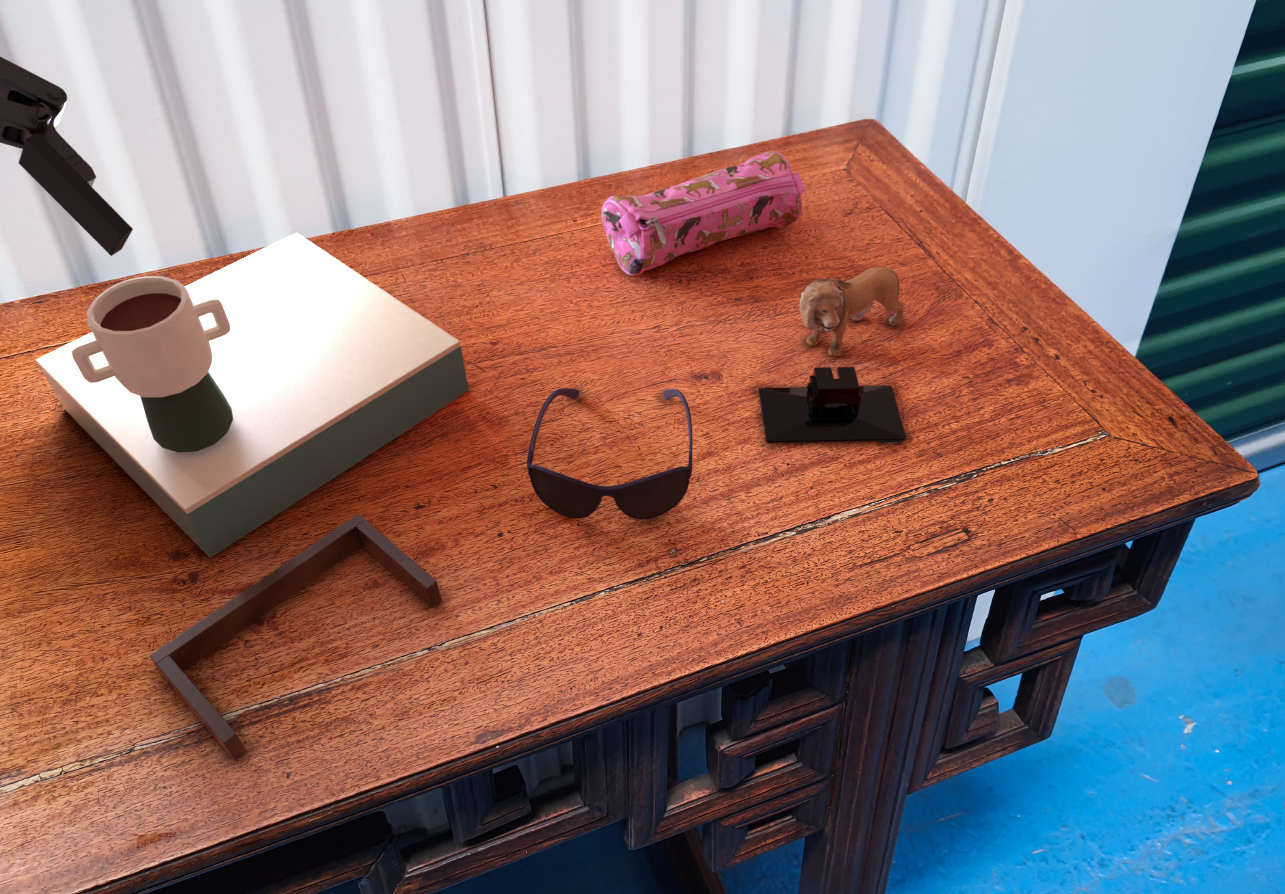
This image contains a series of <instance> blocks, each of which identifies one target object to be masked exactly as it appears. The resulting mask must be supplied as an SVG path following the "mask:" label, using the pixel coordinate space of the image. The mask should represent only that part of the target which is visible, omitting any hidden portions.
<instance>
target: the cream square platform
mask: <svg viewBox="0 0 1285 894" xmlns="http://www.w3.org/2000/svg"><path fill="white" fill-rule="evenodd" d="M185 287H186V288H187V290H188V292H189V294H190V296H191V299H192V301H193V304H194V305H195V304H198V303H201V302H203V301H206V300H209V299H218V300H219V301H220V302H221V303H222V305H223V307H224V310H225V312H226V315H227V317H228V320H229V322H230V332H229V333H228V334H226V335H224V336H222V337H219V338H216V339H214V340H211V341H209V342H210V345H211V351H212V364H211V366H210V369H209V373H210V375H211V376H212V378H213V379H214V381H215V382H216V384H217V385H218V387H219V388H220V390H221V391H222V393H223V394H224V396H225V398H226V400H227V401H228V403H229V405H230V406H231V408H232V414H233V421H232V423H231V426H230V428H229V430H228V432H227V433H226V434H225V435H224V436H223V437H222V438H221V439H220V440H219V441H218V442H217V443H216V444H214V445H212V446H210V447H207V448H205V449H202V450H200V451H197V452H180V453H178V452H175V451H171V450H168V449H164V448H162V447H161V446H160V445H159V444H158V443H157V442H156V441H155V440H154V439H153V436H152V433H151V430H150V428H149V425H148V422H147V418H146V415H145V411H144V408H143V404H142V401H141V397H140V396H139V395H136V394H133V393H130V392H129V391H128V390H127V389H126V388H125V387H124V386H123V385H122V384H121V383H120V382H119V381H118V380H117V379H116V377H115V376H113V377H111V378H108V379H105V380H102V381H100V382H96V383H90V382H88V381H87V380H86V379H84V377H83V375H82V374H81V372H80V370H79V368H78V366H77V364H76V363H75V361H74V359H73V357H72V350H73V349H74V348H76V347H77V346H79V345H81V344H84V343H87V342H90V341H93V340H96V339H95V337H94V335H93V333H92V331H90V332H89V333H88V334H85V335H83V336H82V337H80V338H77V339H75V340H73V341H71V342H69V343H67V344H65V345H62V346H60V347H59V348H56V349H55V350H53V351H50V352H48V353H46V354H44V355H42V356H40V357H38V358H36V359H35V362H36V364H37V366H38V368H39V370H41V373H42V374H43V375H44V378H45V379H46V381H47V382H48V384H49V386H50V388H51V390H52V391H53V392H54V395H55V396H56V398H57V399H58V401H59V403H60V405H61V406H62V408H63V410H64V411H65V412H66V413H67V414H68V415H69V416H70V417H71V418H72V419H73V420H74V421H75V422H76V424H78V425H79V426H80V427H81V428H82V429H83V430H84V431H85V433H87V434H88V435H89V436H90V437H91V438H92V439H93V440H94V441H95V442H96V444H97V445H98V446H99V447H101V448H102V450H103V451H104V452H106V454H107V455H108V456H109V457H110V458H111V459H112V460H113V461H114V462H115V463H116V464H117V465H118V466H119V467H120V468H121V469H123V471H124V472H125V473H126V474H127V475H128V476H129V477H130V478H131V479H132V480H133V481H134V483H136V484H137V486H139V487H140V488H141V489H142V491H143V492H144V493H146V495H148V497H150V498H151V499H152V501H153V502H154V503H155V504H156V505H157V506H158V507H159V508H160V509H161V510H162V511H163V512H164V513H165V514H166V515H167V516H168V517H169V518H170V519H171V520H172V521H173V522H174V523H175V524H176V525H177V526H178V527H179V528H180V529H181V530H182V531H183V533H185V535H187V537H189V539H190V540H191V541H193V542H194V544H196V546H197V547H198V548H199V549H200V550H201V551H202V552H203V553H204V554H205V555H206V556H207V557H208V558H209V559H212V558H213V557H214V556H216V555H218V554H219V553H221V552H222V551H224V550H226V549H227V548H229V547H230V546H231V545H233V544H234V543H236V542H238V541H240V539H243V538H244V537H245V536H246V535H249V534H250V533H252V532H254V530H257V529H258V528H259V527H260V526H262V525H264V524H265V523H267V522H268V521H270V520H272V519H273V518H275V517H276V516H277V515H279V514H281V513H282V512H284V511H285V510H287V509H288V508H291V506H293V505H295V504H296V503H298V502H299V501H301V500H302V499H304V498H306V497H307V496H309V495H310V494H312V493H314V492H315V491H317V490H318V489H319V488H321V487H323V486H324V485H325V484H327V483H329V482H330V481H332V480H333V479H335V478H336V477H338V476H339V475H341V474H343V473H344V472H345V471H347V470H349V469H351V468H352V467H353V466H355V465H356V464H358V463H360V462H361V461H363V460H364V459H366V458H367V457H369V456H370V455H372V454H373V453H375V452H376V451H378V450H380V449H381V448H383V447H384V446H386V445H387V444H389V443H390V442H392V441H393V440H396V438H398V437H400V436H401V435H403V434H405V433H406V432H407V431H409V430H410V429H412V428H413V427H415V426H416V425H418V424H419V423H421V422H423V421H424V420H426V419H427V418H429V417H430V416H432V415H433V414H435V413H437V412H438V411H440V410H442V409H443V408H444V407H446V406H447V405H449V404H451V403H452V402H454V401H455V400H456V399H458V398H459V397H461V396H463V395H465V394H466V393H468V392H469V391H470V387H469V383H468V378H467V372H466V366H465V362H464V357H463V350H462V346H461V341H460V340H459V339H457V338H456V337H455V336H453V335H451V334H450V333H448V332H447V331H445V330H444V329H442V328H441V327H439V326H438V325H436V324H435V323H433V322H432V321H430V320H429V319H427V318H426V317H425V316H423V315H422V314H420V313H418V312H417V311H415V310H414V309H412V308H411V307H410V306H408V305H407V304H405V303H403V302H402V301H401V300H399V299H397V298H396V297H394V296H393V295H391V294H390V293H388V292H386V291H385V290H384V289H382V288H381V287H379V286H377V285H376V284H375V283H374V282H371V281H370V280H369V279H367V278H366V277H365V276H363V275H361V274H359V272H357V271H355V270H354V269H352V268H351V267H349V266H348V265H346V264H345V263H343V262H342V261H340V260H339V259H337V258H336V257H334V256H333V255H331V254H330V253H328V252H327V251H325V250H324V249H322V248H321V247H320V246H318V245H316V244H315V243H314V242H312V241H310V240H309V239H307V238H306V237H304V236H303V235H302V234H300V233H298V232H294V233H293V234H290V235H288V236H286V237H284V238H283V239H280V240H278V241H276V242H274V243H272V244H270V245H268V246H266V247H264V248H262V249H260V250H258V251H256V252H254V253H252V254H250V255H247V256H246V257H244V258H241V259H239V260H237V261H236V262H233V263H231V264H229V265H226V266H225V267H223V268H221V269H218V270H216V271H214V272H213V273H211V274H208V275H206V276H203V277H202V278H200V279H197V280H196V281H194V282H192V283H190V284H188V285H186V286H185ZM199 318H200V320H201V323H202V325H203V328H204V329H206V328H209V327H212V326H215V325H216V323H215V320H214V318H213V315H212V313H209V314H206V315H203V316H200V317H199ZM89 358H90V360H91V362H92V363H93V365H94V367H95V369H96V368H99V367H102V366H104V365H107V364H108V362H107V360H106V358H105V356H104V354H103V352H100V353H97V354H94V355H91V356H89Z"/></svg>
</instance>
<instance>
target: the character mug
mask: <svg viewBox="0 0 1285 894" xmlns="http://www.w3.org/2000/svg"><path fill="white" fill-rule="evenodd" d="M209 313H212V315H213V318H214V320H215V323H216V325H215V326H212V327H209V328H206V329H204V328H203V325H202V323H201V320H200V318H199V317H200V316H203V315H206V314H209ZM86 320H87V321H86V322H87V324H88V328H89V329H90V332H92V333H93V335H94V337H95V339H96V340H93V341H90V342H87V343H84V344H81V345H79V346H77V347H76V348H74V349H73V350H72V357H73V359H74V361H75V363H76V364H77V366H78V368H79V370H80V372H81V374H82V375H83V377H84V379H86V380H87V381H88V382H90V383H96V382H100V381H102V380H105V379H108V378H111V377H113V376H115V377H116V379H117V380H118V381H119V382H120V383H121V384H122V385H123V386H124V387H125V388H126V389H127V390H128V391H129V392H130V393H133V394H136V395H139V396H140V397H141V401H142V404H143V408H144V411H145V415H146V418H147V422H148V425H149V428H150V430H151V433H152V436H153V439H154V440H155V441H156V442H157V443H158V444H159V445H160V446H161V447H162V448H164V449H168V450H171V451H175V452H178V453H180V452H197V451H200V450H202V449H205V448H207V447H210V446H212V445H214V444H216V443H217V442H218V441H219V440H220V439H221V438H222V437H223V436H224V435H225V434H226V433H227V432H228V430H229V428H230V426H231V423H232V421H233V414H232V408H231V406H230V405H229V403H228V401H227V400H226V398H225V396H224V394H223V393H222V391H221V390H220V388H219V387H218V385H217V384H216V382H215V381H214V379H213V378H212V376H211V375H210V373H209V369H210V366H211V364H212V351H211V345H210V342H209V341H211V340H214V339H216V338H219V337H222V336H224V335H226V334H228V333H229V332H230V322H229V320H228V317H227V315H226V312H225V310H224V307H223V305H222V303H221V302H220V301H219V300H218V299H209V300H206V301H203V302H201V303H198V304H195V305H194V304H193V301H192V299H191V296H190V294H189V292H188V290H187V288H186V286H185V285H184V284H183V283H181V282H180V281H179V280H177V279H175V278H170V277H167V276H163V275H144V276H139V277H133V278H129V279H126V280H123V281H121V282H118V283H115V284H113V285H112V286H110V287H108V288H106V289H105V290H103V291H102V292H101V293H100V294H98V296H96V297H95V298H94V299H93V300H92V302H91V303H90V305H89V307H88V309H87V310H86ZM100 352H103V354H104V356H105V358H106V360H107V362H108V364H107V365H104V366H102V367H99V368H96V369H95V367H94V365H93V363H92V362H91V360H90V358H89V356H91V355H94V354H97V353H100Z"/></svg>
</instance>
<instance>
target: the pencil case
mask: <svg viewBox="0 0 1285 894" xmlns="http://www.w3.org/2000/svg"><path fill="white" fill-rule="evenodd" d="M805 192H806V189H805V186H804V184H803V181H802V179H801V176H800V174H799V172H795V173H794V172H793V169H792V167H791V165H790V162H789V160H788V159H787V158H786V156H785V155H784V154H782V153H780V152H778V151H775V150H774V151H773V150H772V151H765V152H763V153H761V154H757V155H755V156H753V157H750V158H748V159H746V160H745V161H743V162H742V163H741V164H738V165H733V166H729V167H724V168H720V169H718V170H715V171H712V172H708V173H706V174H704V175H701V176H698V177H696V178H693V179H690V180H687V181H684V182H681V183H679V184H676V185H672V186H670V187H669V186H668V187H667V188H664V189H661V190H656V191H653V192H650V193H648V194H645V195H611V196H609V197H608V198H607V199H606V200H605V201H604V203H603V204H602V206H601V209H600V210H601V211H600V212H601V215H600V217H601V222H602V226H603V229H604V231H605V236H606V239H607V240H606V241H607V242H608V244H609V250H611V252H612V253H613V255H614V257H615V259H616V261H617V263H618V266H619V267H620V269H621V270H622V271H623V272H624V273H625V274H626V275H629V276H630V277H631V276H632V277H636V276H639V275H641V274H643V273H644V272H646V271H650V270H653V269H655V268H657V267H661V266H663V265H664V264H666V263H669V262H672V261H673V260H675V259H676V258H677V257H679V256H682V255H684V254H688V253H692V252H697V251H700V250H703V249H706V248H708V247H709V246H712V245H714V244H715V243H716V244H717V243H719V242H723V241H727V240H731V239H733V238H739V237H741V236H746V235H749V234H752V233H754V232H755V233H756V232H758V231H761V230H765V229H767V228H777V227H778V228H783V227H788V226H790V225H791V226H792V225H793V224H795V223H797V222H798V221H799V219H800V218H801V215H802V211H803V201H802V196H801V195H803V194H804V193H805Z"/></svg>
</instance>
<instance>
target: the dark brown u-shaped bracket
mask: <svg viewBox="0 0 1285 894" xmlns="http://www.w3.org/2000/svg"><path fill="white" fill-rule="evenodd" d="M362 547H363V549H365V550H366V551H367V552H368V553H369V554H371V555H372V556H373V557H374V558H375V559H376V560H377V561H378V562H380V564H382V565H383V566H384V567H385V568H386V569H388V570H389V571H390V572H391V573H392V574H393V575H394V576H395V577H396V578H397V579H399V580H400V581H401V582H402V583H403V584H405V585H406V587H408V588H409V589H410V590H411V591H412V592H413V593H415V594H416V596H418V597H419V598H420V599H421V600H422V601H423V602H425V603H426V604H427V605H428V606H429V607H430V608H435V606H437V605H438V604H440V603H441V602H442V600H443V598H442V596H441V591H440V588H439V584H438V581H437V580H436V579H435V578H434V577H433V576H432V575H430V574H429V573H428V572H427V571H426V570H425V569H424V568H423V567H421V566H420V565H419V564H418V563H416V562H415V561H414V560H413V559H412V558H411V557H409V556H408V555H407V553H405V552H404V551H403V550H402V549H400V548H399V547H398V546H397V545H396V544H395V543H393V541H391V540H390V539H389V538H388V537H386V536H385V535H384V534H383V533H382V532H381V531H380V530H378V528H376V527H375V526H373V524H371V523H370V522H369V521H368V520H367V519H366V518H365V517H364V516H363V515H361V514H360V513H357V514H355V515H353V516H352V517H350V518H349V519H348V520H346V521H344V522H343V523H342V524H340V525H338V526H337V527H336V528H334V529H333V530H331V531H329V532H328V533H327V534H325V535H324V536H323V537H321V538H320V539H318V540H316V541H315V542H313V543H312V544H311V545H309V546H308V547H306V548H305V549H304V550H302V551H301V552H299V553H298V554H296V555H294V557H292V558H290V559H289V560H288V561H285V562H284V563H283V564H282V565H280V566H278V567H277V568H276V569H274V570H273V571H271V572H269V573H268V574H267V575H265V576H264V577H263V578H261V579H259V580H258V581H256V582H255V583H254V584H252V585H250V586H249V587H248V588H246V589H245V590H244V591H242V592H240V593H239V594H238V595H236V596H234V597H233V598H231V599H230V600H228V601H227V602H226V603H224V604H223V605H221V606H220V607H217V609H215V610H214V611H212V612H211V613H209V614H208V615H207V616H205V617H204V618H202V619H200V620H199V621H197V622H196V623H194V625H193V624H192V626H191V627H189V628H187V629H186V630H184V631H183V632H181V633H180V634H178V635H177V636H176V637H174V638H173V639H171V640H170V641H168V642H167V643H165V644H163V646H161V647H160V648H158V649H157V650H155V651H154V652H152V653H151V654H149V655H148V657H149V658H150V660H151V661H152V663H153V664H154V666H155V668H156V669H157V670H158V672H159V674H160V675H161V676H162V677H163V679H164V680H165V681H166V682H167V683H168V684H169V685H170V687H171V688H172V689H173V690H174V692H175V693H176V694H177V695H178V696H179V697H180V699H181V700H182V701H183V702H184V703H185V704H186V706H187V708H189V709H190V711H191V712H192V713H193V714H194V715H195V716H196V718H197V719H198V720H199V722H201V724H202V725H203V726H204V727H205V728H206V730H207V731H208V732H209V733H210V735H212V737H213V738H214V739H215V740H216V741H217V743H218V744H219V745H220V746H221V747H222V748H223V750H224V751H225V752H226V753H227V754H228V756H229V757H230V758H231V759H232V760H233V761H234V762H235V761H237V760H238V759H239V758H241V757H242V756H243V755H244V754H245V753H247V752H248V750H247V748H246V747H245V744H243V742H242V740H241V738H240V737H239V735H238V734H237V732H236V731H235V730H234V729H233V727H232V726H231V725H230V724H229V723H228V722H227V721H226V719H225V718H224V717H223V716H222V715H221V714H220V713H219V711H218V710H217V709H216V708H215V707H214V705H213V704H212V703H211V702H210V701H209V700H208V699H207V697H205V695H204V694H203V692H201V690H200V689H199V688H198V687H197V685H195V684H194V683H193V681H192V680H191V679H190V678H189V676H188V675H187V674H186V673H185V671H187V670H188V669H189V668H190V667H192V666H193V665H195V664H196V663H198V662H199V661H201V660H202V659H203V658H205V657H207V656H208V655H209V654H211V653H212V652H214V651H215V650H216V649H218V648H219V647H220V646H222V645H223V644H226V643H227V642H228V641H229V640H231V639H232V638H234V637H235V636H237V635H238V634H239V633H240V632H242V631H243V630H245V629H246V628H247V627H249V626H251V625H252V624H254V623H255V622H256V621H258V620H260V619H261V618H262V617H263V616H265V615H266V614H268V613H269V612H271V611H272V610H273V609H275V608H276V607H277V606H279V605H281V604H282V603H283V602H285V601H286V600H288V599H289V598H290V597H292V596H293V595H295V594H296V593H298V592H299V591H300V590H302V589H304V588H305V587H306V586H308V585H309V584H310V583H312V582H313V581H315V580H316V579H317V578H319V577H321V576H322V575H324V574H325V573H326V572H327V571H329V570H331V569H332V568H334V567H335V566H336V565H337V564H339V563H340V562H342V561H343V560H345V559H346V558H348V557H349V556H350V555H352V554H353V553H355V552H356V551H358V550H359V549H360V548H362Z"/></svg>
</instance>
